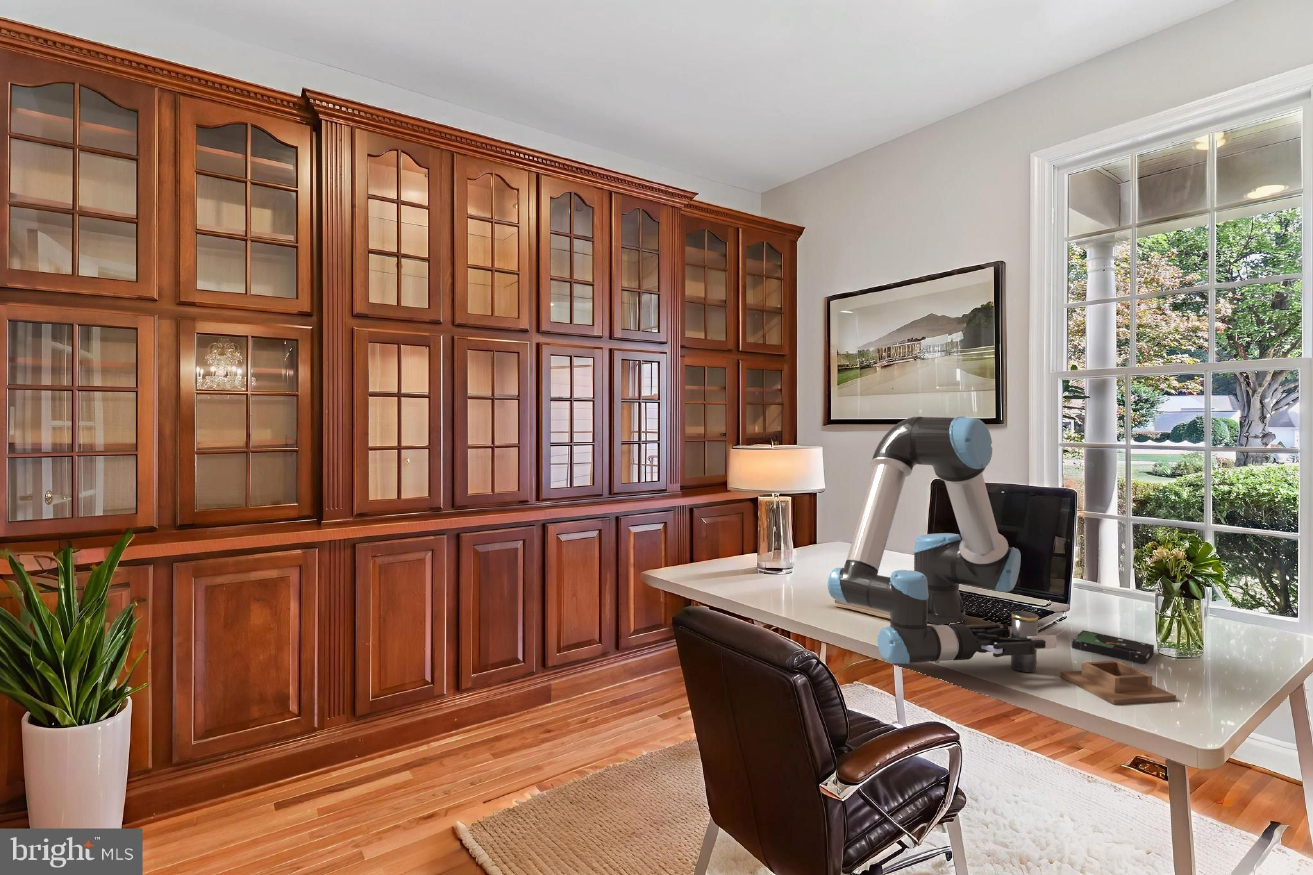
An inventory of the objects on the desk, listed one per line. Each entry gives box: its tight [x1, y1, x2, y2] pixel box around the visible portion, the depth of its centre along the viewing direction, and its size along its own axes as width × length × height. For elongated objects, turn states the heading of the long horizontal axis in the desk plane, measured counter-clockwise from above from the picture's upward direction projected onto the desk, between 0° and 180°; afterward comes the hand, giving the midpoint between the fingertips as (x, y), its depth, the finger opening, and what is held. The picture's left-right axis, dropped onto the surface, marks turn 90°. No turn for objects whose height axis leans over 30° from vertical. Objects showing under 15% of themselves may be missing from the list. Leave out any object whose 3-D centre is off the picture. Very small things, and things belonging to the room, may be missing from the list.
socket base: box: [1059, 660, 1177, 706], centre depth 139 cm, size 14×14×4 cm
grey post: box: [1010, 610, 1039, 673], centre depth 149 cm, size 5×5×12 cm
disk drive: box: [1071, 629, 1155, 665], centre depth 161 cm, size 10×3×15 cm
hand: (1045, 637), depth 149 cm, fingers closed on grey post, 5 cm apart
